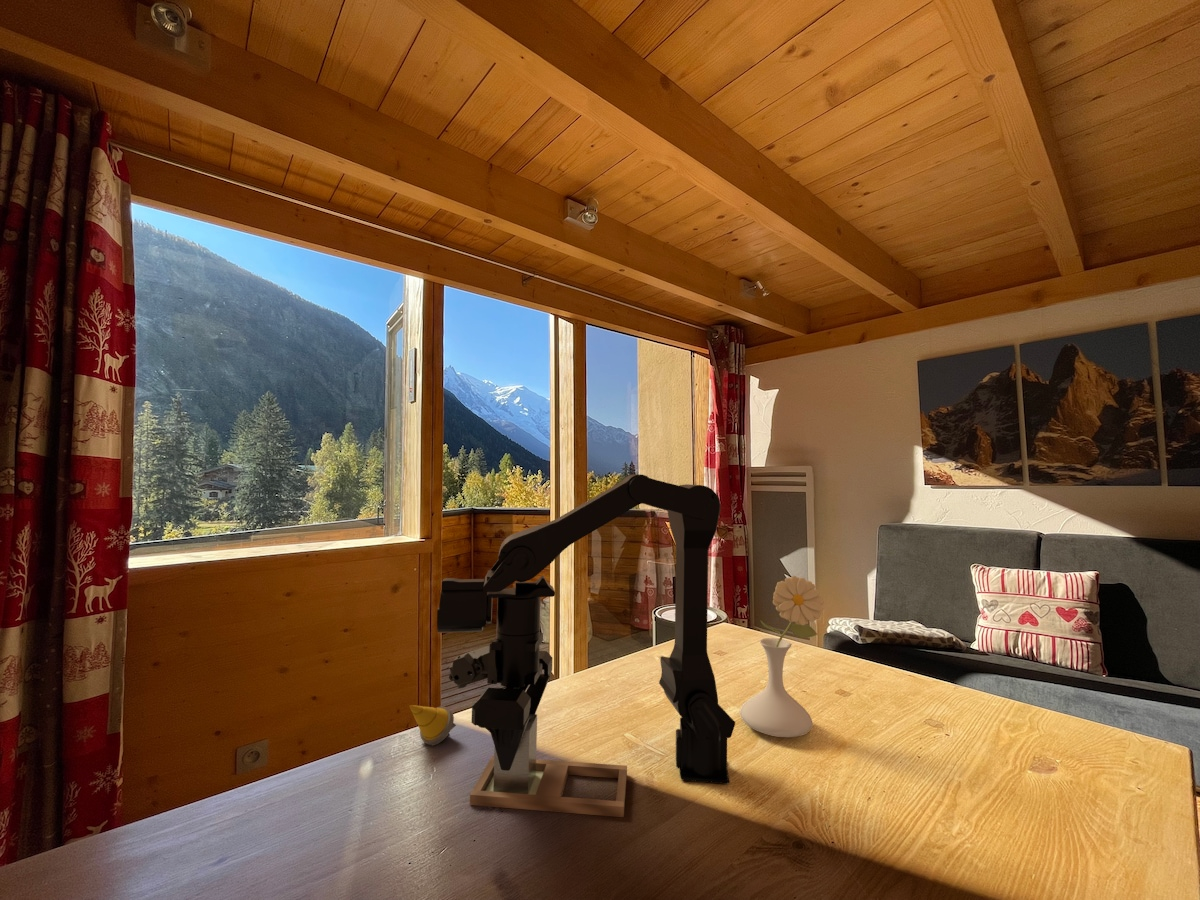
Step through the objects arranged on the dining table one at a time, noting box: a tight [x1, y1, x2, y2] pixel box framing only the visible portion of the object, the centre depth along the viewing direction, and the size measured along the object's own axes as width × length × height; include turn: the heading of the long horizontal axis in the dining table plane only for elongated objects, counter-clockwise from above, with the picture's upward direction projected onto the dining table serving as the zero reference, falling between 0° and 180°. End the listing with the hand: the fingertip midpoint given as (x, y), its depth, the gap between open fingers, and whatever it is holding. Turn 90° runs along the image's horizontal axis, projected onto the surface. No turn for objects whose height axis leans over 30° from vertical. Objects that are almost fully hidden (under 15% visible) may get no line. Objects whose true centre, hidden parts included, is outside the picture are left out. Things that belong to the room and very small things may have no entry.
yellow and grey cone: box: [408, 704, 457, 746], centre depth 79 cm, size 5×5×10 cm
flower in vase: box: [739, 575, 825, 738], centre depth 86 cm, size 13×11×25 cm
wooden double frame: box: [469, 755, 628, 818], centre depth 68 cm, size 19×9×1 cm, turn 85°
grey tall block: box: [493, 713, 538, 794], centre depth 68 cm, size 4×4×9 cm
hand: (515, 750), depth 68 cm, fingers open, 9 cm apart
